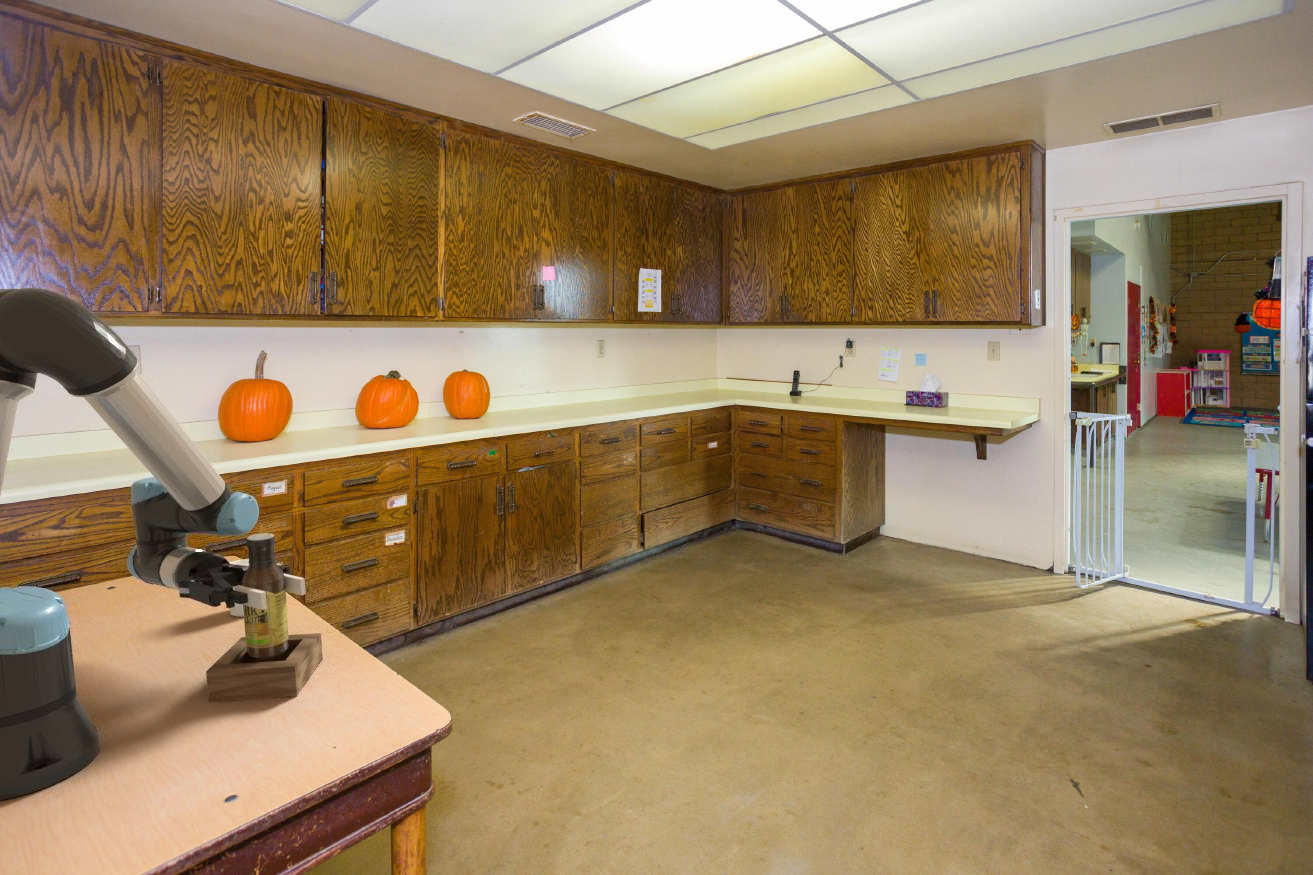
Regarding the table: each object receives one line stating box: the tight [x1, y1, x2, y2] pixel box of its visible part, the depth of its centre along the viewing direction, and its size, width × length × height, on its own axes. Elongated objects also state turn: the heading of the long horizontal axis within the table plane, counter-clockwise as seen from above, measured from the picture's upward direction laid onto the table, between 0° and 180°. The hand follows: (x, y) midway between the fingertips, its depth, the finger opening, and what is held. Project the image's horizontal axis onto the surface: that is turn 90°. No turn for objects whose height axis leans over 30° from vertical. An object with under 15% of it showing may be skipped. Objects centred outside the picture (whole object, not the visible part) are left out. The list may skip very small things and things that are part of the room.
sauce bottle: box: [242, 532, 289, 658], centre depth 119 cm, size 6×6×20 cm
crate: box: [205, 632, 324, 703], centre depth 121 cm, size 13×13×5 cm
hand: (283, 593), depth 117 cm, fingers closed on sauce bottle, 6 cm apart
